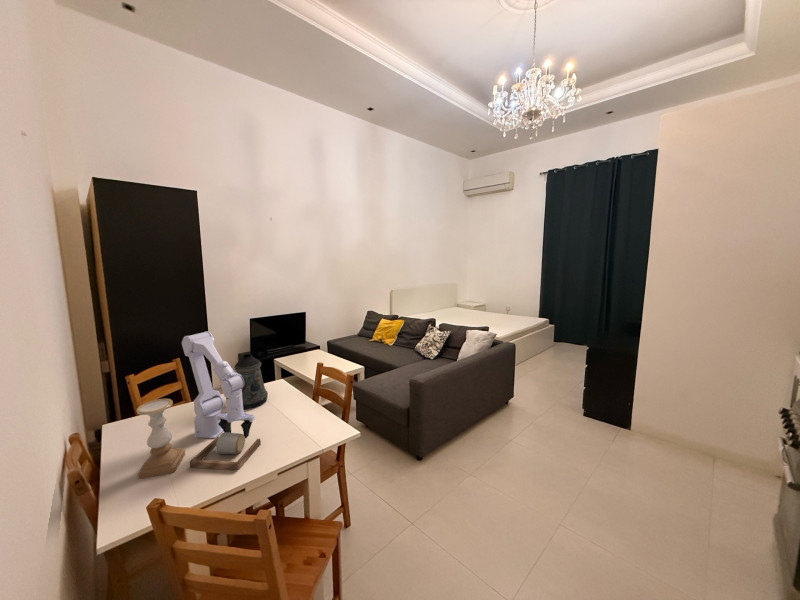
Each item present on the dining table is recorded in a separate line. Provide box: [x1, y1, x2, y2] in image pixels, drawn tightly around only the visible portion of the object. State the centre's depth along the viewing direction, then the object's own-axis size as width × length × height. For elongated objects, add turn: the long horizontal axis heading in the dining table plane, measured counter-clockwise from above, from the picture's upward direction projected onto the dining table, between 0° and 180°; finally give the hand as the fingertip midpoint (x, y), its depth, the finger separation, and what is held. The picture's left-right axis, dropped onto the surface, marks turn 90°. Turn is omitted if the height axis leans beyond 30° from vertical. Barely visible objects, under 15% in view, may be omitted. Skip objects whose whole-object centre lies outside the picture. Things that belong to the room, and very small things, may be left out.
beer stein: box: [234, 353, 269, 411], centre depth 160 cm, size 16×19×25 cm
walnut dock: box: [189, 436, 262, 471], centre depth 119 cm, size 18×15×2 cm
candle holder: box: [136, 398, 186, 479], centre depth 112 cm, size 11×11×24 cm
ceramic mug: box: [215, 431, 246, 455], centre depth 122 cm, size 11×8×8 cm
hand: (237, 436), depth 126 cm, fingers open, 7 cm apart
